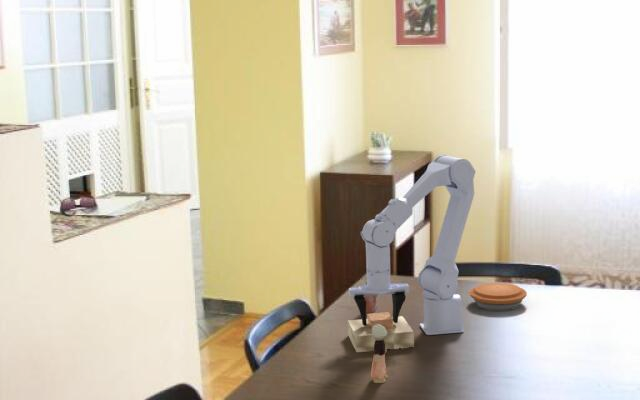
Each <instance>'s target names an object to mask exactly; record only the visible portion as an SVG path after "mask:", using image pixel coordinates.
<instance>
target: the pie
mask: <svg viewBox="0 0 640 400" xmlns="http://www.w3.org/2000/svg"><path fill="white" fill-rule="evenodd" d="M527 293H528V292H527V291H526V289H524V288H522V287H520V286H518V285H515V284H513V283H507V282H487V283H482V284H478V285H477V286H475V287H473V288H471V289H470V290H469V291H468V294H469V296H470V297H471V298H472V299H473V300H474V301H475V304H476V305H477V307H479V308H480V309H483V310H487V311H492V312H493V311H495V312H503V311H504V312H505V311H512V310H515V309H517V308H519V306H520V305H521V304H522V302H523V300H524V299H525V298H526V297H527Z"/></svg>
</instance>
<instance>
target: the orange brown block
mask: <svg viewBox="0 0 640 400" xmlns="http://www.w3.org/2000/svg"><path fill="white" fill-rule="evenodd" d="M392 317H393V316H392V315H391V314H390V312H389V311H385V312H377V313H371V314H367V317H366V319H367V324H368V326H369V328H370V329H371V331H372V328H373V326H374V325H376V324H380V325H382V326H383V327H385V329H393V318H392Z"/></svg>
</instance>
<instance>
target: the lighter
mask: <svg viewBox="0 0 640 400" xmlns="http://www.w3.org/2000/svg"><path fill="white" fill-rule="evenodd" d="M365 278H366V279H365V283H364V284H363V286H365V285H367V276H366V277H365ZM364 297H365V300H366V318H367V314H371V313H378V305H377V297H378V295H370V296H364Z"/></svg>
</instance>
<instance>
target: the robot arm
mask: <svg viewBox="0 0 640 400" xmlns="http://www.w3.org/2000/svg"><path fill="white" fill-rule="evenodd" d="M475 174H476V169H475V167H474V166H473V164H472V163H471V161H469V160H468V159H466V158H459V157H454V156H450V155H447V154H440V155H438V156H436V157H435V159H434V160H433V161H431V162H430V163H429V164H428V165H427V168H426V170H425V171H424V173H423V174H422V175H421V176H420V177H419V179H418V180H417V181H416V182H415V183H414V184H413V185H412V187H410V188H409V190H408V191H407V192H406V193H405V194H404V195H403V197H395V198H394V199H393V198H391V199H390V200H389V201H388V202H387V206H386V207H385V208H384V209H382V211H380V213H378V214H376V215H375V216H374V219H370V220H368V221H367V222H366V223H365V224H364V225H363V228H362V231H360V236H361V238H362V240H363V241H364V242H365V257H366V258H365V260H366V261H365V263H366V264H365V265H366V277H367V285H365V284H364V285H365V286H364V285H361V286H357V287H349V288H348V296H349V298H350V299H353V300H354V301H355V303H356V306H357V307H358V310H359V311H358V312H359V313H360V317H361V319H362V324H363V325H364V326H367V320H366V319H367V317H366V300H365V297H364V296H370V295H377V296H382V295H391V299H392V317H393V321H394V323H398V317H399V315H400V312H401V310H402V306H403V304H404V303H405V302H406V294H410V286H409V284H408V283H391V255H390V254H391V250H390V249H391V248H390V245H391V243H393V241H394V239H395V234H396V233H397V231H398V230H399V229H400V227H402V225H404V223H406V222H407V221H408V219H410V217H412V215H413V212H414V210H413V208H414V207H416V205H418V203H420V201H422V200H423V199H424V198H425V197H426V196H427V195H428V194H430V193H431V192H432V191H433V190H434V189H435V188H437V187H444V186H445V188H446V190H447V191H448V193H449V195H450V197H449V201H448V204H447V206H446V207H447V208H446V211H445V215H444V218H443V221H442V224H441V228H440V231H439V235H438V238H437V242H436V244H435V245H436V246H435V249H434V251H433V255H432V256H430V257H429V258H427V259H426V260H425V264H424V266H423V268H421V270H420V272H419V273H418V276H417V283H418V285H419V287H420V288H421V289H422V294H423V322H422V323H419V327H420V328H421V329H422V330H423V332H424V333H425V335H427V336H433V335H445V334H456V333H457V334H458V333H464V324H463V323H464V321H463V319H464V318H463V315H464V314H463V313H464V312H463V311H464V310H463V309H464V308H463V302H462V298H461V296H460V294H458V293H457V290H458V286H459V282H458V281H459V280H458V276H459V271H460V270H459V269H458V266H457V264H456V258H457V255H458V251H459V247H460V246H461V241H462V238H463V234H464V231H465V228H466V223H467V221H468V217H469V214H470V209H471V207H472V205H473V204H472V203H473V201H474V196H475V185H474V178H475ZM456 293H457V294H456Z"/></svg>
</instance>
